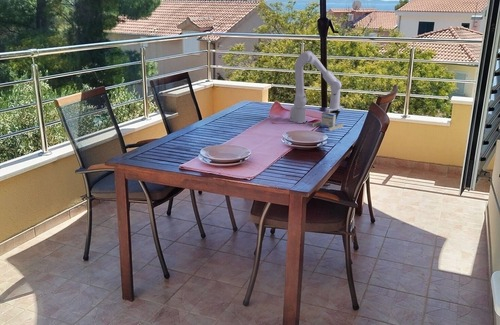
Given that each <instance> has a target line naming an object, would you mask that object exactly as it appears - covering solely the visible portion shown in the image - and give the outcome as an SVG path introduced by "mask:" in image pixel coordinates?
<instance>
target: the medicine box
mask: <svg viewBox="0 0 500 325" xmlns="http://www.w3.org/2000/svg"><path fill="white" fill-rule="evenodd" d="M335 121H336V122H337V119H336V113H327V112H326V111H324V112H322V113H321V125H320V127H322V128H328V129H329V127H332V126H335V125H336V122H335Z"/></svg>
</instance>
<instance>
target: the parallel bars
mask: <svg viewBox="0 0 500 325" xmlns="http://www.w3.org/2000/svg"><path fill="white" fill-rule="evenodd" d="M315 126H316V127H319V126H321V121H316V122H314V123H312V127H313V128H315ZM341 128H344V123H343V122H342V123H339V124H335V126H332V127H329V128H328V132H331V131H334V130H337V129H341Z"/></svg>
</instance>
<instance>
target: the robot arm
mask: <svg viewBox="0 0 500 325" xmlns="http://www.w3.org/2000/svg"><path fill="white" fill-rule="evenodd" d="M307 63H308V64H311V65H314V66H315V68H316V69H317V70H318V71H319V72H320V73H321V74H322V78H323V79H324V81H325V82H326V83H327V84H328V85H329V86H330V87H329V88H330V98H329V99H330V102H329V107H328V108H326V109H325V110H326V111H325V112H327V113H336V121H335V123H336V122H337V119H338V117H339V114H340V113H341V111H340V110H343V105H340V102H341V88H342V85H343V84H342V82H341V80H339V78H337V77H336V76H335V75H334V73H333V71H331V70H327V69H326V67H325V66H324V65H323V64H322V62H321V61H320V60H319V58H318V57H317V56H316V55H315V54H314V53H313V51H312V50H306V51H303V52H302V53H300V54H299V55H298V57H297V59H296V61H295V63H294V78H295V81H294V82H295V95H294V101H293V106H292V107H291V108H290V111H289V119H288V121H290V122H293V123H297V124H303V122H304V123H307V122H308V121H309V120H307V119H306V116H307V114H306V111H307V110H306V109H307V106H306V105H307V102H308V98H307V97H306V93H305V84H304V83H305V80H304V79H305V78H304V66H305V65H306V64H307ZM306 121H307V122H306Z"/></svg>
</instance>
